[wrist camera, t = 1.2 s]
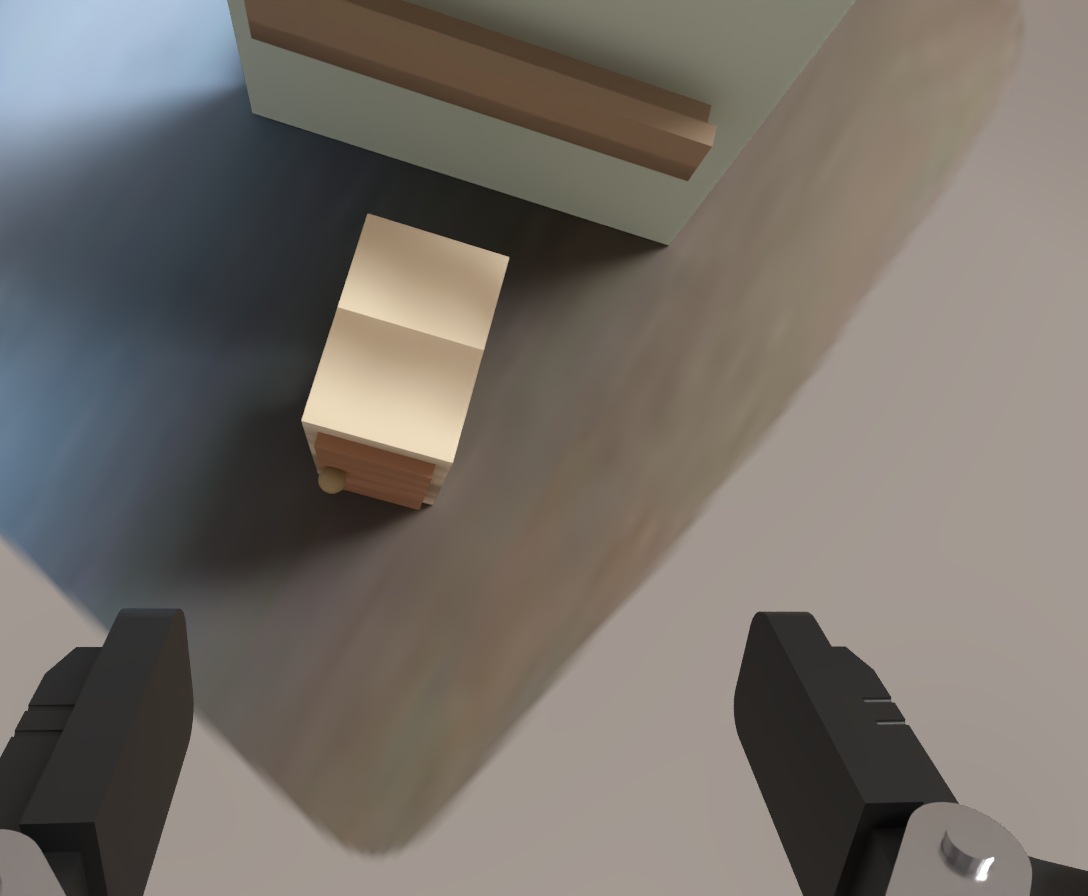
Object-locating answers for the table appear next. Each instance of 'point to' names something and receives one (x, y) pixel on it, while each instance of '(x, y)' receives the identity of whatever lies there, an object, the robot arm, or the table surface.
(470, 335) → the wall cabinet
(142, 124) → the table surface
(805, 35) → the wall board
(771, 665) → the robot arm
